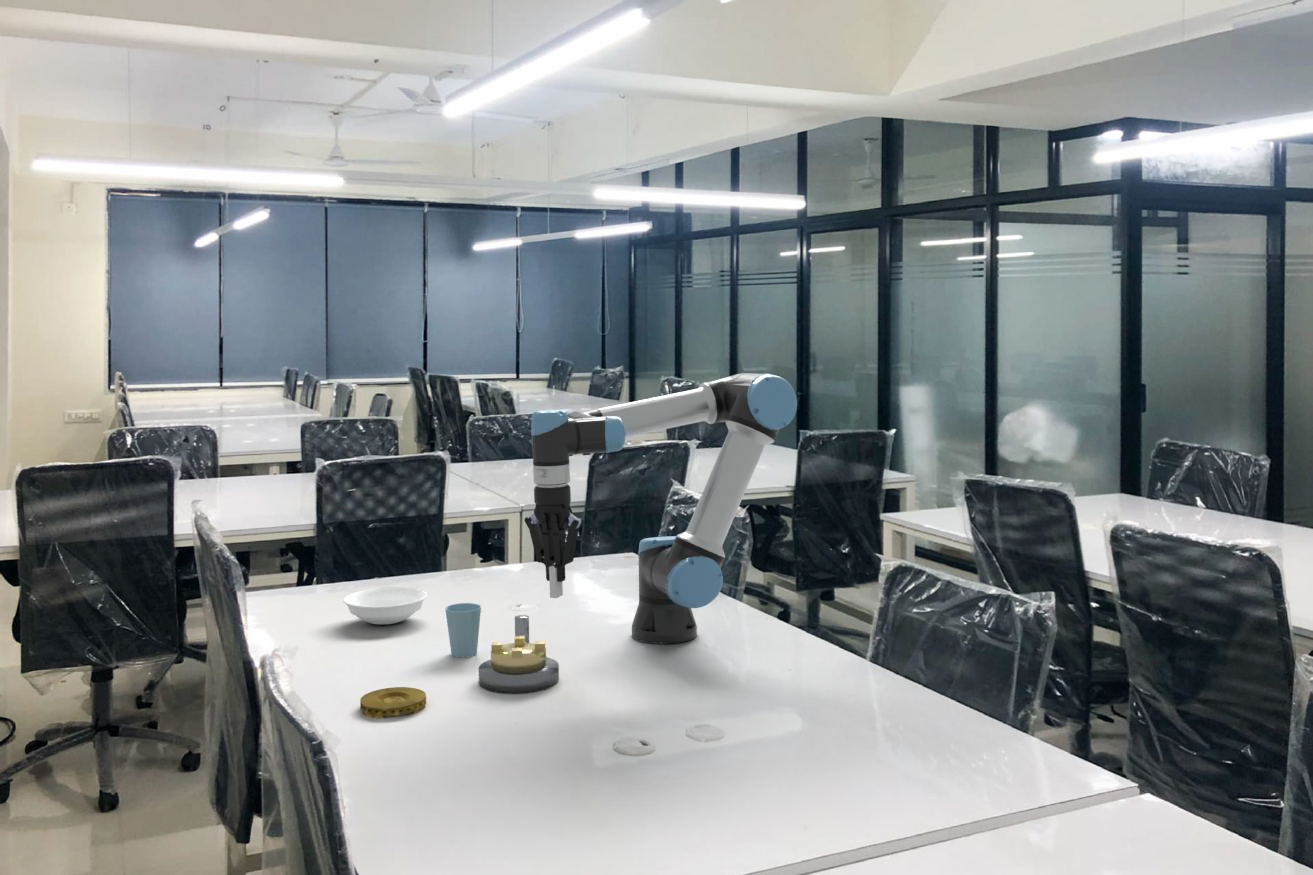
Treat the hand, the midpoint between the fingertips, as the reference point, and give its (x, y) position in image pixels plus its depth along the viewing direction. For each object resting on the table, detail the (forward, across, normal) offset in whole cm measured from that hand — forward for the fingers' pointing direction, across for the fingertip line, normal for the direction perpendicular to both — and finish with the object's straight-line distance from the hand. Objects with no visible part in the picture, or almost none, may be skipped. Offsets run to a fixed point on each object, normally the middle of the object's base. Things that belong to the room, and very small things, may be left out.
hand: (556, 596), depth 226 cm
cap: (+15, -2, -12) cm, 19 cm away
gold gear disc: (+15, -16, -35) cm, 41 cm away
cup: (+15, -23, -1) cm, 28 cm away
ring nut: (+14, -4, -8) cm, 17 cm away
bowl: (+14, -56, +13) cm, 60 cm away
